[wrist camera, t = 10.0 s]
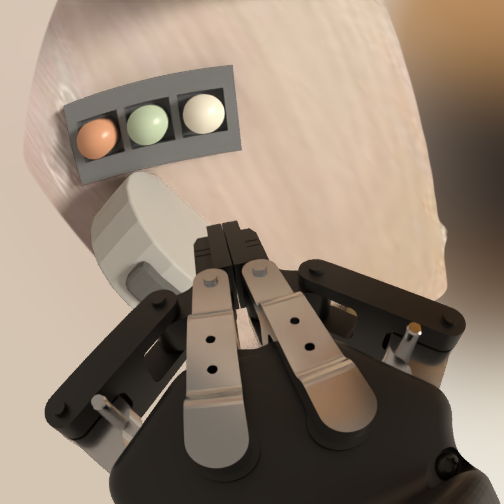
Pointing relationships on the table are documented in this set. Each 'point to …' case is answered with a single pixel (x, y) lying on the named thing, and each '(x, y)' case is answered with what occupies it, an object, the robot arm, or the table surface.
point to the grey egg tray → (177, 134)
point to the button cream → (203, 113)
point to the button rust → (98, 137)
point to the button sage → (148, 124)
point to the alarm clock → (146, 238)
